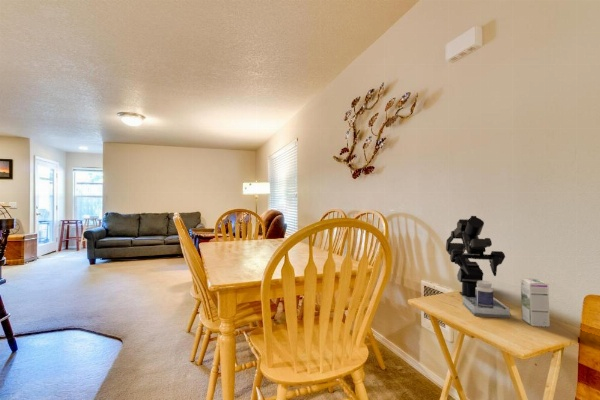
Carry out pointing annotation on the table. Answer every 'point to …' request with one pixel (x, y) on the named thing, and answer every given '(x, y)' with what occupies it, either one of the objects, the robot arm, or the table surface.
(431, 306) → the table surface
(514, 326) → the table surface
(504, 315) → the tray
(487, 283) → the pill bottle
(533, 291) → the syrup box
